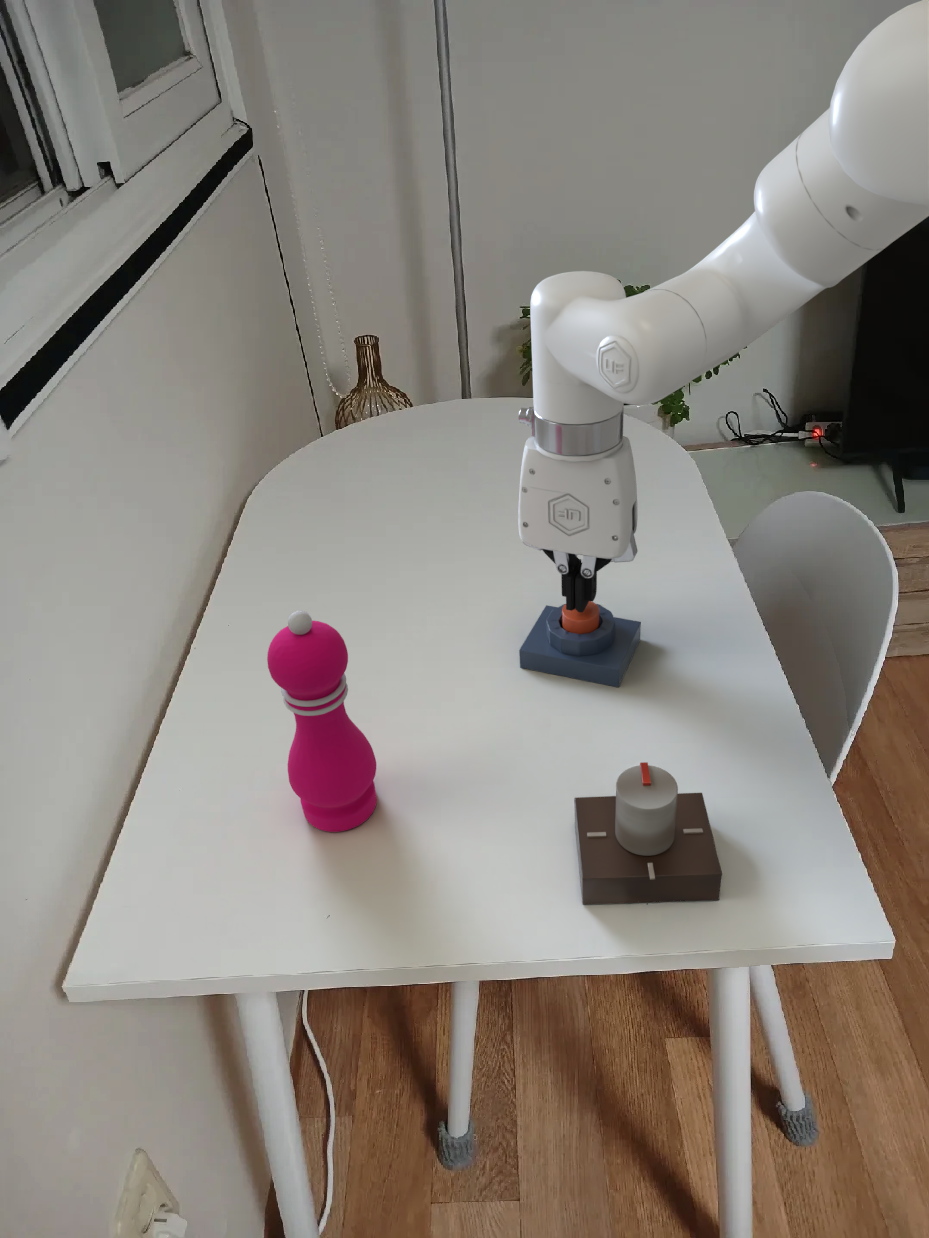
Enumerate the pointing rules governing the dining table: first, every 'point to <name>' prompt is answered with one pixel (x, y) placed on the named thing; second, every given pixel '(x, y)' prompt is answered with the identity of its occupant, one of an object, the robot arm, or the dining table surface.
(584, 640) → the button box
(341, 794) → the pepper mill
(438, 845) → the dining table surface
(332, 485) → the dining table surface
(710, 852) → the dial panel
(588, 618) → the button
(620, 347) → the robot arm
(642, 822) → the dial knob
